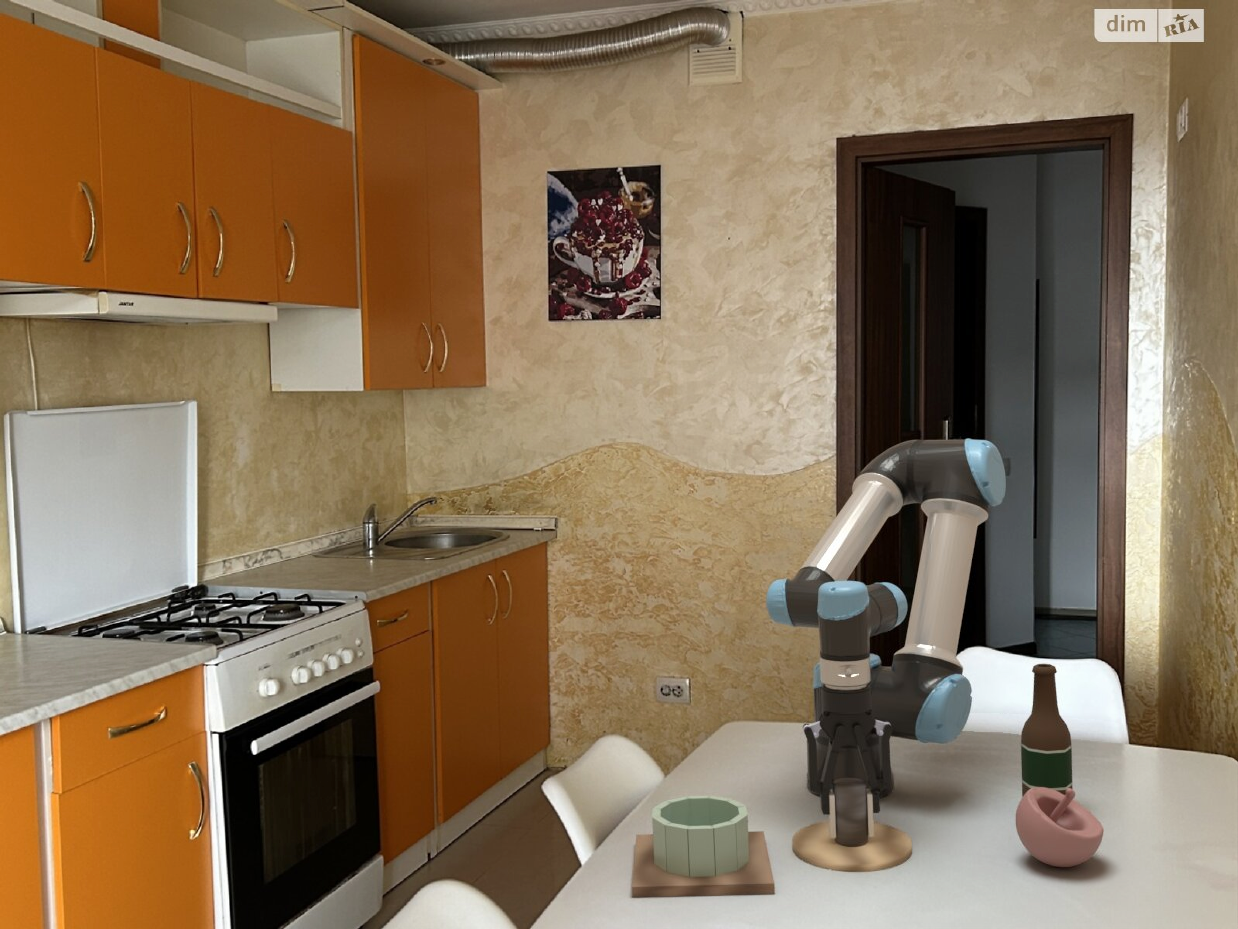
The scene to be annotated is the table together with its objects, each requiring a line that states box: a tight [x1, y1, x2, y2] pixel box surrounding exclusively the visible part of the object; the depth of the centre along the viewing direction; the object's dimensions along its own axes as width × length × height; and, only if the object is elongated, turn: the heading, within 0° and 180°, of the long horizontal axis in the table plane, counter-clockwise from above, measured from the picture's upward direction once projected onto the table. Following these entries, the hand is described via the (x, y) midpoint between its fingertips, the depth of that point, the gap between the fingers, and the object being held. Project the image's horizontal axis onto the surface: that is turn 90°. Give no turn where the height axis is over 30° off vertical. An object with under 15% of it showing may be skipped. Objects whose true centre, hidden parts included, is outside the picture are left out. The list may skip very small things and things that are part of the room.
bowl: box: [651, 794, 749, 877], centre depth 179 cm, size 14×14×7 cm
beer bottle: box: [1020, 663, 1074, 798], centre depth 196 cm, size 8×8×24 cm
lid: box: [791, 778, 913, 873], centre depth 184 cm, size 18×18×10 cm
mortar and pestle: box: [1014, 787, 1105, 868], centre depth 175 cm, size 12×12×12 cm
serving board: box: [631, 830, 776, 898], centre depth 180 cm, size 20×20×2 cm
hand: (851, 833), depth 184 cm, fingers closed on lid, 5 cm apart
